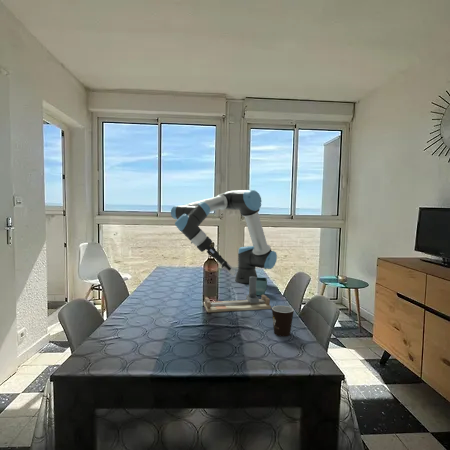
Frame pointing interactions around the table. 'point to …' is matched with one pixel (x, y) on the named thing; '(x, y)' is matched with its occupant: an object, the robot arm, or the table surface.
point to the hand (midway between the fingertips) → (231, 270)
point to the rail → (237, 305)
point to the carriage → (252, 290)
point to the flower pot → (261, 285)
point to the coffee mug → (282, 320)
